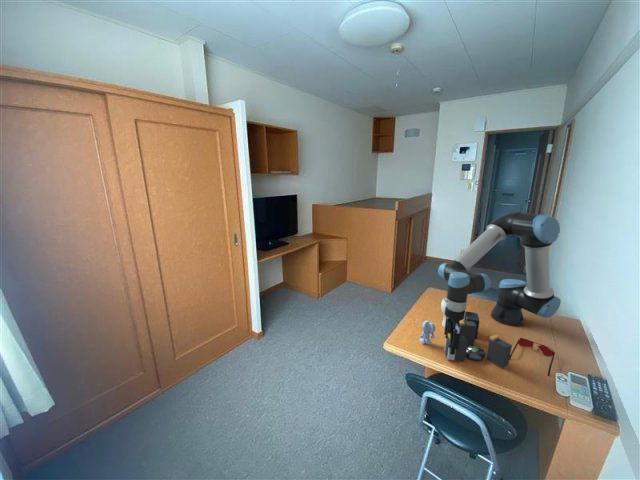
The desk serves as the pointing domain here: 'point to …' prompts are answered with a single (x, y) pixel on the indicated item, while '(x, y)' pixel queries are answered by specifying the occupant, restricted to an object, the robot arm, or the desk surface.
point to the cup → (443, 311)
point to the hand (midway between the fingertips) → (449, 355)
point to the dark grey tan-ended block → (498, 351)
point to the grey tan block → (468, 330)
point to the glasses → (543, 348)
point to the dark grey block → (461, 351)
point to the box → (472, 319)
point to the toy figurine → (427, 332)
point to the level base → (475, 353)
